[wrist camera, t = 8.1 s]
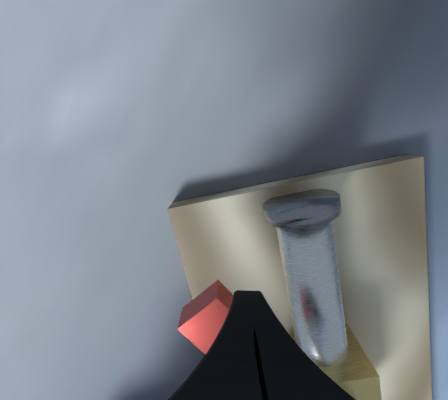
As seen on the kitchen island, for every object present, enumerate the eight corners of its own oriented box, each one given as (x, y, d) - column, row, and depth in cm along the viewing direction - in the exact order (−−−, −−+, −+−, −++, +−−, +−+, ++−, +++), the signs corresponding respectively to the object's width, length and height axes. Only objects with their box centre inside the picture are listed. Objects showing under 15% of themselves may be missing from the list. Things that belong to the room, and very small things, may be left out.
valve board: (247, 480, 24) (248, 503, 23) (172, 202, 18) (167, 209, 16) (421, 457, 23) (434, 479, 22) (407, 154, 17) (423, 156, 15)
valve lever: (381, 439, 14) (397, 471, 13) (343, 461, 15) (355, 494, 14) (219, 278, 12) (218, 296, 11) (181, 308, 13) (175, 330, 11)
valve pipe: (309, 482, 23) (334, 589, 17) (255, 198, 17) (268, 231, 11) (363, 475, 22) (405, 582, 17) (327, 184, 16) (375, 210, 11)
